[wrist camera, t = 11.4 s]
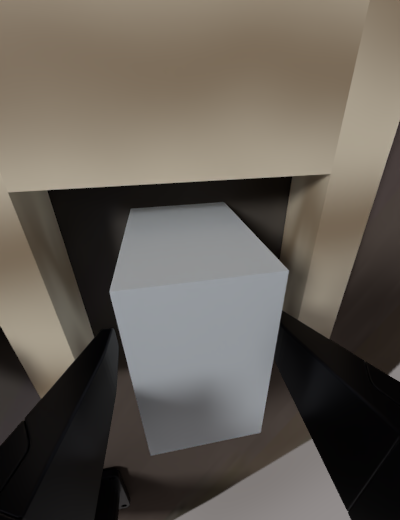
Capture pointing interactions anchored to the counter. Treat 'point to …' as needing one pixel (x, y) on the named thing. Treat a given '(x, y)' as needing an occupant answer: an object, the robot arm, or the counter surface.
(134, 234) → the tall pale grey block
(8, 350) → the counter surface
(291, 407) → the counter surface
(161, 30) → the notched board
